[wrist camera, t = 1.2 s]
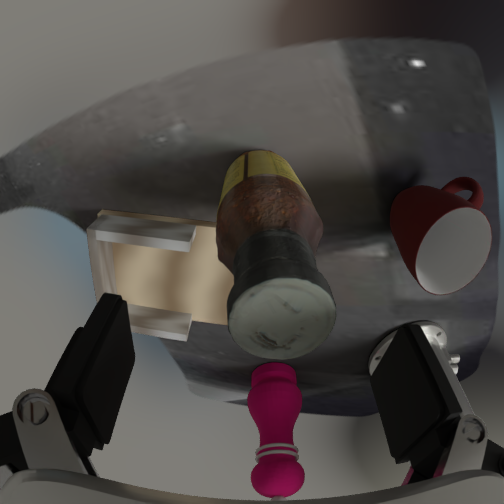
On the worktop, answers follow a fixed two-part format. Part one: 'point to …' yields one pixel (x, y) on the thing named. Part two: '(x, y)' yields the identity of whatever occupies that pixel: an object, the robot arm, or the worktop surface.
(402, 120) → the worktop surface
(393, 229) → the mug
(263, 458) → the pepper mill
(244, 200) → the sauce bottle
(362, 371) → the worktop surface
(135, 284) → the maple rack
